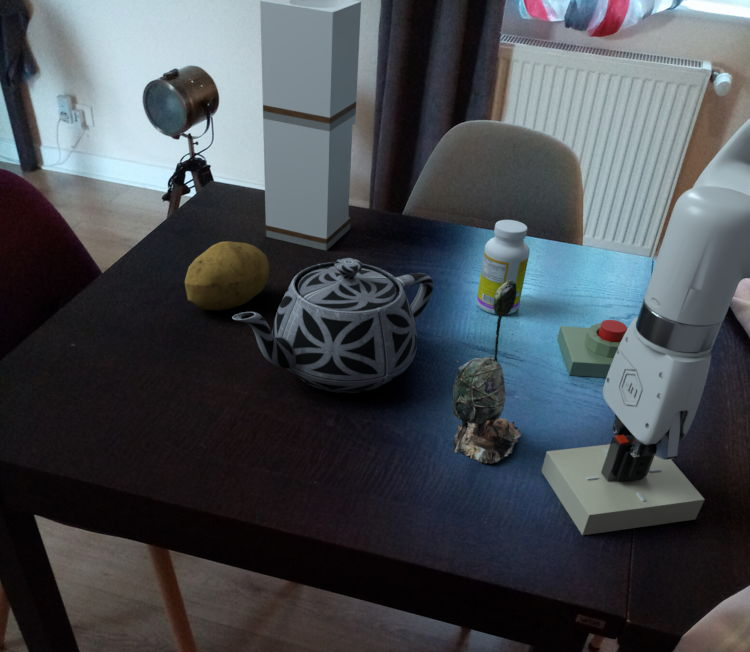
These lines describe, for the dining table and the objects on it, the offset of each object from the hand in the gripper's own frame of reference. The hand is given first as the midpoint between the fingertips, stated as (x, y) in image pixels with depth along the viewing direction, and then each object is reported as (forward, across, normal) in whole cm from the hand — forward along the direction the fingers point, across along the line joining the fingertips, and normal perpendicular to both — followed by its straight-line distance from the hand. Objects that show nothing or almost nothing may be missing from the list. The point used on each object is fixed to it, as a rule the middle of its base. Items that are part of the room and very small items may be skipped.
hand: (623, 471), depth 87 cm
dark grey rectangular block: (0, 0, 0) cm, 1 cm away
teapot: (+4, -31, -26) cm, 40 cm away
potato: (+4, -51, -38) cm, 63 cm away
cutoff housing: (+3, -28, +13) cm, 31 cm away
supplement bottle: (+4, -45, +3) cm, 45 cm away
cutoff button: (0, -28, +13) cm, 30 cm away
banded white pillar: (+4, -75, -20) cm, 78 cm away
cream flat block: (+4, 0, 0) cm, 4 cm away
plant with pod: (+4, -12, -12) cm, 17 cm away
